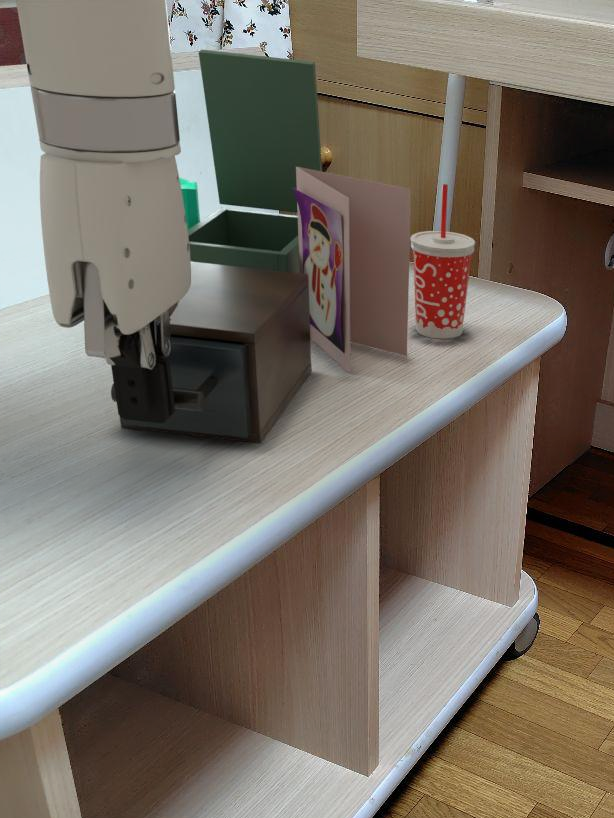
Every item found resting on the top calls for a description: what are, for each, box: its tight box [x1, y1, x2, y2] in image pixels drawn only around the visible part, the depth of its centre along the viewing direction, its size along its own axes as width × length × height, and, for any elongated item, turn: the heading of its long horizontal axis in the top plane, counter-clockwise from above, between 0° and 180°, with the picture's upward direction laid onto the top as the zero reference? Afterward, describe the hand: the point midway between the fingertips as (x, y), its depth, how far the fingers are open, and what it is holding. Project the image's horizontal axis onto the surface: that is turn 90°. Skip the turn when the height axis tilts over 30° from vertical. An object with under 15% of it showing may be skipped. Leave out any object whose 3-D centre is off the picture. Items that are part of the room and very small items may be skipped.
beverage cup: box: [410, 183, 476, 340], centre depth 94 cm, size 6×6×14 cm
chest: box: [188, 207, 300, 274], centre depth 97 cm, size 14×11×8 cm
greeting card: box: [292, 167, 412, 374], centre depth 88 cm, size 11×7×15 cm, turn 33°
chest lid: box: [198, 49, 323, 214], centre depth 95 cm, size 14×11×1 cm
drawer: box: [110, 333, 252, 438], centre depth 75 cm, size 18×9×7 cm, turn 176°
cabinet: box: [120, 262, 312, 444], centre depth 78 cm, size 15×11×9 cm
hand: (147, 416), depth 66 cm, fingers closed
